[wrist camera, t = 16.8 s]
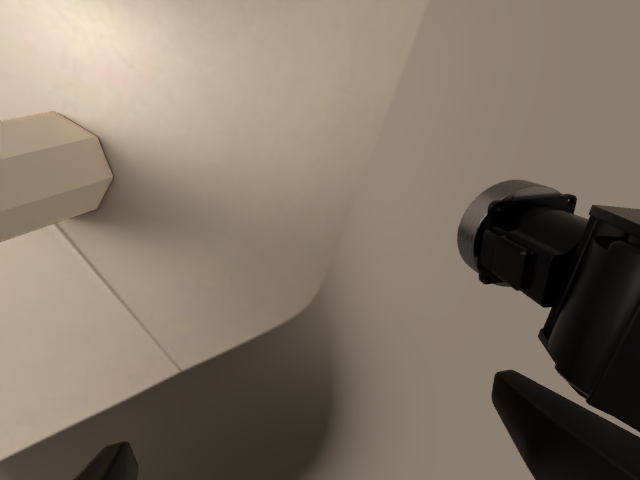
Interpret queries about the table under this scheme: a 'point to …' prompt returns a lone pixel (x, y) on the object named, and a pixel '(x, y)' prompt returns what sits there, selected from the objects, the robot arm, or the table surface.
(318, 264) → the table surface
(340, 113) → the table surface
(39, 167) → the salt shaker
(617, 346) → the robot arm
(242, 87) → the table surface
